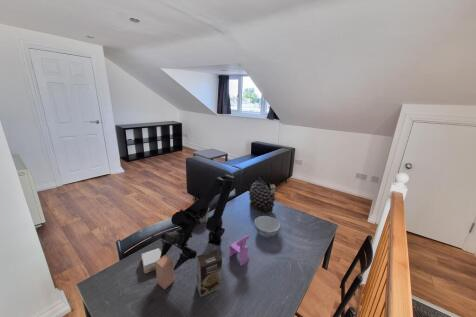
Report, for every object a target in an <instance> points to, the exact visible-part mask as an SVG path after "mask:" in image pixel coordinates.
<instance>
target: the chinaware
mask: <svg viewBox="0 0 476 317" xmlns="http://www.w3.org/2000/svg"><path fill="white" fill-rule="evenodd" d="M254 227H255V230H256V232H257V234H259V235H260V236H261V237H263V238H267V239H268V238H271V237H273V236H275V235H276V234H277V233H278V232H279V230H280V227H281V224H280V222H279V220H277V219H276V218H275V217H272V216H270V215H262V216H261V215H259V216H258V217H256V218H255V219H254Z"/></svg>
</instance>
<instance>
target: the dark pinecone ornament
mask: <svg viewBox="0 0 476 317" xmlns="http://www.w3.org/2000/svg"><path fill="white" fill-rule="evenodd" d="M275 192H276V184H274V183H272V184H271V183H270V182H269V181H268V180H265V178H263V177H262V176H258V178H257V180H255V182H253V183H252V184H250V189H249V193H248V195H249V208H250V209H251V210H252V211H254V212H256V213H257V214H259V215H262V216H270V215H271V214H272V213H273V211H274V207H275V201H276V198H275V196H276V195H275Z"/></svg>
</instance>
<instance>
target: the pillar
mask: <svg viewBox="0 0 476 317" xmlns="http://www.w3.org/2000/svg"><path fill="white" fill-rule="evenodd" d="M155 263H156V270H155V272H156V273H155V274H156V283H157V284H158V285H159V286H160V287H161V288H162V289H163V290H166V289H167V288H168V287H169V286H170V285H172V284H173V283H174V282H175V273H174V271H175V270H173V269H174V260H173V259H172V258H171V257H169V255H167V253H166V254H165V255H164V256H162V257H161V258H160V259H158V260H157V261H155Z"/></svg>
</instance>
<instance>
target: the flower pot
mask: <svg viewBox="0 0 476 317" xmlns="http://www.w3.org/2000/svg"><path fill="white" fill-rule="evenodd" d="M209 211H210V207H209V208H208V211H207V213H206V215H205V216H204V217H203V218H201V219H200V224H202V223H205V222H207V219H208V212H209Z"/></svg>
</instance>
